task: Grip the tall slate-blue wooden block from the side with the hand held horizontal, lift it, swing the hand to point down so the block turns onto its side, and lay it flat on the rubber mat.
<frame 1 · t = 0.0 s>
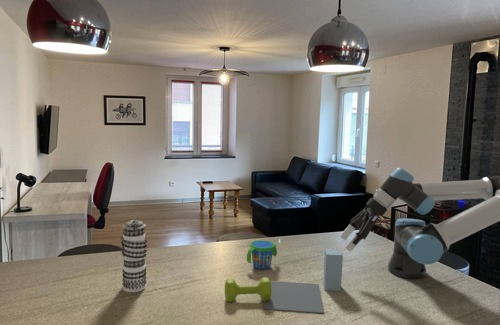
hand: (344, 243, 151), 15 cm above the counter, tool tilted 35°, fingers open, 13 cm apart
dumbbell: (248, 299, 135), on the counter, touching mat
snack cup: (261, 267, 165), on the counter
patterned white cylinder: (134, 287, 143), on the counter
block: (331, 287, 147), on the counter
mat: (293, 296, 139), on the counter
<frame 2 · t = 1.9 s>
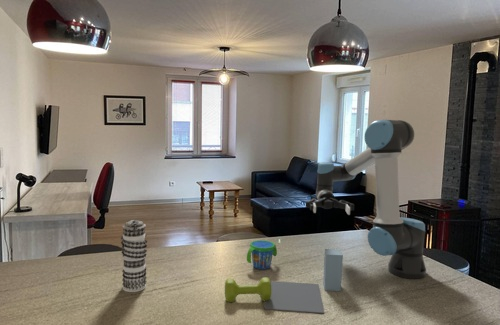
hand: (332, 210, 154), 27 cm above the counter, tool horizontal, fingers open, 13 cm apart
nothing on the counter moved.
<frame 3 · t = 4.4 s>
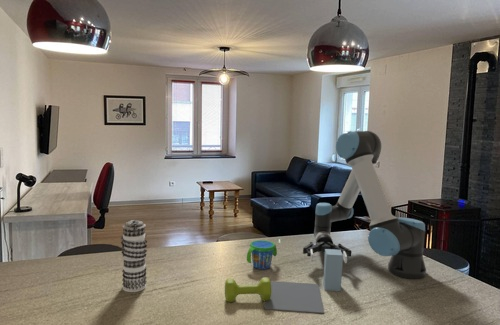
hand: (329, 258, 155), 8 cm above the counter, tool horizontal, fingers open, 13 cm apart
nothing on the counter moved.
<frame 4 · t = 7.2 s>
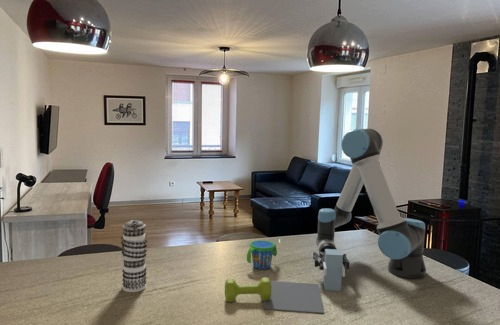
hand: (334, 272, 141), 8 cm above the counter, tool horizontal, fingers closed on block, 6 cm apart
block: (331, 287, 147), on the counter, touching gripper
everything else where it was.
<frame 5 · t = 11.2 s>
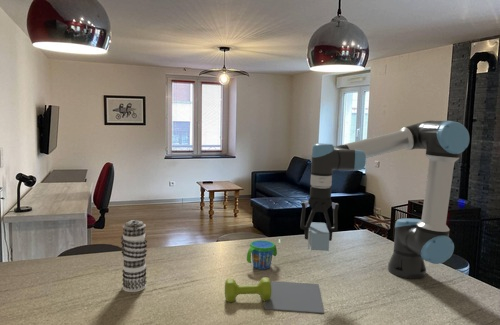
hand: (317, 248, 141), 17 cm above the counter, tool pointing down, fingers closed on block, 6 cm apart
block: (320, 241, 132), point 22 cm above the counter, tilted 90°, touching gripper
everything else where it was.
when the fingers open (2 cm above the counter, at t = 14.8 s): block drops 4 cm, resting on mat.
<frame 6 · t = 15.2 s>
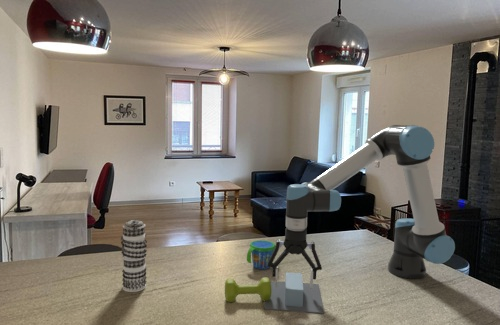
hand: (293, 286, 138), 4 cm above the counter, tool pointing down, fingers open, 12 cm apart
block: (294, 297, 130), point 3 cm above the counter, tilted 90°, touching mat
everything else where it was.
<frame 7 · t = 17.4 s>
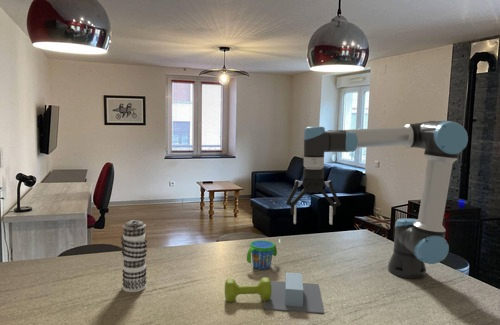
hand: (312, 223, 145), 25 cm above the counter, tool pointing down, fingers open, 13 cm apart
nothing on the counter moved.
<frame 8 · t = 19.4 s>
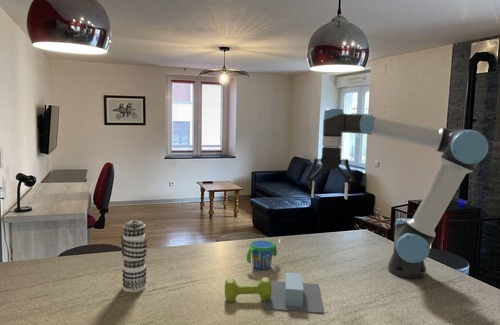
hand: (329, 198, 158), 32 cm above the counter, tool pointing down, fingers open, 13 cm apart
nothing on the counter moved.
at the end: block tilted 90°; block touching mat; block inside the target area (8.0 cm from its centre), point 3.4 cm above the counter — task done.
